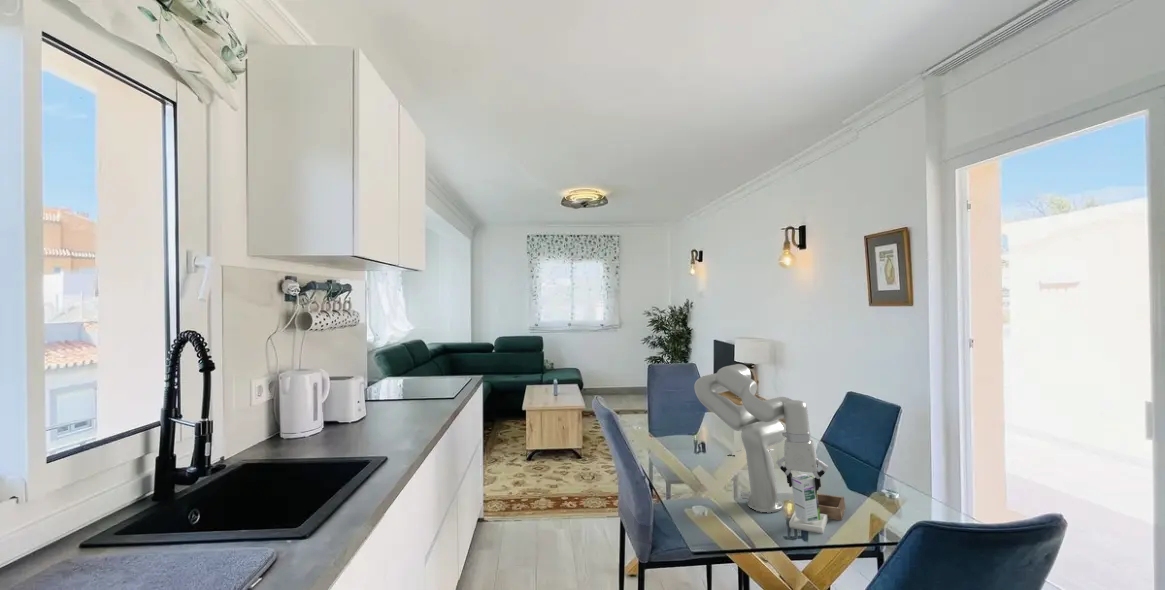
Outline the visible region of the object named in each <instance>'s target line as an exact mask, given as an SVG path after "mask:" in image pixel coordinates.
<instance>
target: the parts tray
mask: <svg viewBox="0 0 1165 590" xmlns="http://www.w3.org/2000/svg"><path fill="white" fill-rule="evenodd" d="M828 521H829V518H828V517H827V514H820V520H818V521H814V522H810V523H805V522H803V521H802V520H800V519H798V518H797V517H796V514H795V511H793V513H792V516H791V518H790V520H789V521H788V526H789V529H793V528H794V529H795V530H798V529H799V530H800V531H804V532H805V531H806V532H809V533H810V532H811V533H816V534H817V533H818V534H822V533H823V534H824V532H825V529H826V526H827V524H828Z"/></svg>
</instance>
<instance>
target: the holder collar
mask: <svg viewBox="0 0 1165 590" xmlns="http://www.w3.org/2000/svg"><path fill="white" fill-rule="evenodd" d="M817 495H818V503H819V511H820V514H827V517H828V520H829V519H830V520H835V521H836V520H837V521H842V520H843V517H844V514H845V511H846V502H845V501H846V500H845V497H844V496H838V495H831V494H829V495H828V494H822V493H817ZM837 507H838V508H837ZM844 510H845V511H844Z"/></svg>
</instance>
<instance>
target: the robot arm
mask: <svg viewBox="0 0 1165 590" xmlns="http://www.w3.org/2000/svg"><path fill="white" fill-rule="evenodd" d="M693 385H694V386H693V388H694V392H695V395H696V397H697V400H698V401H699V402H700V403H701V404H702V406H704V407H705V408H706V409H708V410H709V411H711V412H712V413H714V415H716V416H717V417H718V418H720V420H721V421H723V423H725V424H726V425H727V426H728V427H729V428H731V429H732V430H733V431H736V432H741V441H742V444H743V448H745V452H746V456H745V457H746V464H747V465H746V466H747V472H748V480H749V481H748V482H749V488H750V491H748V492H747V491H744V490H743V491H740V497H741V498H742V499H743V500H748V501H747V507H748V506H749V507H750V508H752V509H754V510H756V511H755V512H757V511H760V512H759V513H762V512H767V513H766V514H770V513H771V512H772V513H777V512H780V511H781V510H782V509H783V507H784V505H783V502H782V501H781V500H780V499H779V498H778V491H777V483H776V482H777V480H776V473H775V465H774V459H773V457H772V454H771V452H769V451H768V449H769V447H770V446H774V445H777V444H779V443H782V442H783V441H784V447H783V451H784V452H783V453H784V456H782V457H780V458H779V459H778V460H777V461H776V465H777V466H778V467H779V469H780V470H781V471H782V472H783V473H784V475H785V476H786V483H787V484H788V487H789V488H792V481H791V477H792V476H793V473H792V471H795V472H803V473H812V474H813V476H814V478H815V479H814V480H815V488H816V490H817V491H819V490H820V488H821V487H822V482H821V478H822V477H823V476H824V475H825V473H826V472H827V471H828V469H829V465H828V464H827V463H825V462H823V461H822V460H820V459H819V458H818V455H817V452H816V446H815V444H814V441H813V440H812V439H811V431H810V423H809V422H810V421H809V414H808V407H807V404H806V403H805V401H802V400H800V399H798V400H797V399H796V400H795V399H791V398H789V397H786V396H778V397H775V398H769V399H766V400H762V399H760V398H758V397H757V396H755V395H756V393H757V392H758V384H757V382H756V381H755V380H754V379H752V373H751V371H750V369H749V367H747V366H746V365H745V364H742V363H736V364H731V365H726V366H723V367H721V368H719V369H717V372H716V373H711V374H706V375H703V376H701V377H698V378H697V380H695V383H694V384H693ZM725 392H726V393H727V392H731V393H732V394H733V395H736V396H737V397H739V398H740V399H741V403H742V404H741V405H740V404H736V403H734V402H733V401H732V400H731V399H729V397H726V396H724V395H721V394H722V393H725ZM783 419H784V425H785V427H784V426H783V424H782V422H781V421H780V420H783ZM785 438H786V439H785ZM783 463H784V464H783ZM819 467H821V468H822V469H821V470H819V469H818V468H819ZM749 507H748V508H749ZM750 508H749V509H750ZM752 509H751V510H752ZM754 510H753V511H754Z"/></svg>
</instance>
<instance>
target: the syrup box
mask: <svg viewBox="0 0 1165 590" xmlns="http://www.w3.org/2000/svg"><path fill="white" fill-rule="evenodd" d="M814 479H815V476H814V477H813V476H812V475H809V474H807V473H802V474H798V475H797V474H796V475H792V477H791V481H792V487H791V488H792V494H793V495H792V496H793V503H794V512H795V514H796V517H797V518H798V519H800V520H802V521H803V522H805V523H810V522H814V521H818V520H820V511H819V503H818V495H817V494H818V490H816V488H815V480H814Z"/></svg>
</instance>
